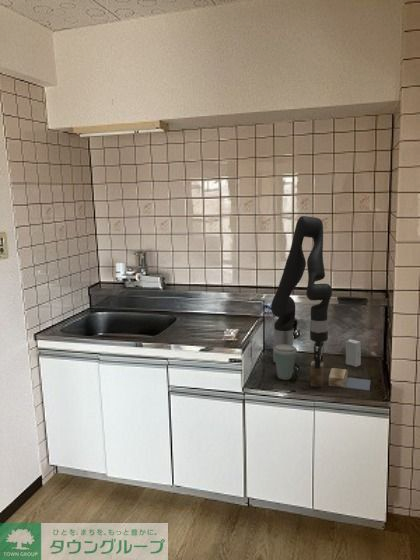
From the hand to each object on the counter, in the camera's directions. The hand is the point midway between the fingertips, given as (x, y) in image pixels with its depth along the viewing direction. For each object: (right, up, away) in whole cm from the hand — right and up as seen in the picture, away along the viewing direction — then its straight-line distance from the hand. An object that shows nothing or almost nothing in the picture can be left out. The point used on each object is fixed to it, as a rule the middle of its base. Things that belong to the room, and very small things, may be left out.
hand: (318, 364), depth 202 cm
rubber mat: (+18, -9, +1) cm, 20 cm away
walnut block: (0, -9, +2) cm, 9 cm away
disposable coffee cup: (-13, -8, +11) cm, 19 cm away
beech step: (+10, -8, +4) cm, 13 cm away
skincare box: (+22, -4, +24) cm, 33 cm away
